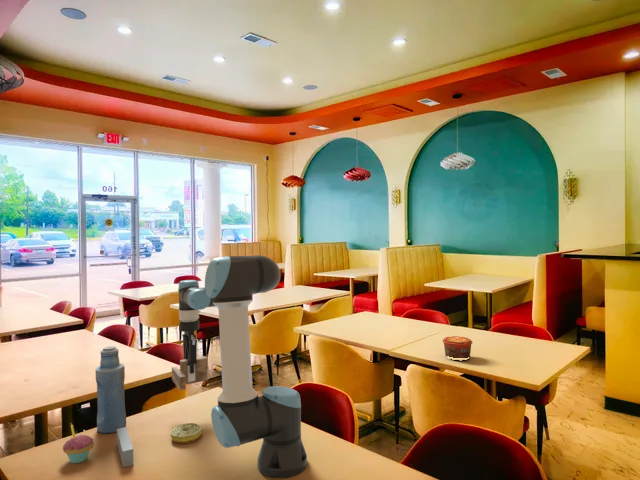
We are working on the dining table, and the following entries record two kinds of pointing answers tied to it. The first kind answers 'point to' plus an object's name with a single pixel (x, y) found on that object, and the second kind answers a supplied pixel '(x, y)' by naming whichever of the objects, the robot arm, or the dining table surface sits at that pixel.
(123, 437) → the backstop
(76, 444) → the cupcake
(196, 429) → the decorated donut
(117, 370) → the bottle
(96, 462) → the dining table surface
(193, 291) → the robot arm
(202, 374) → the pusher
